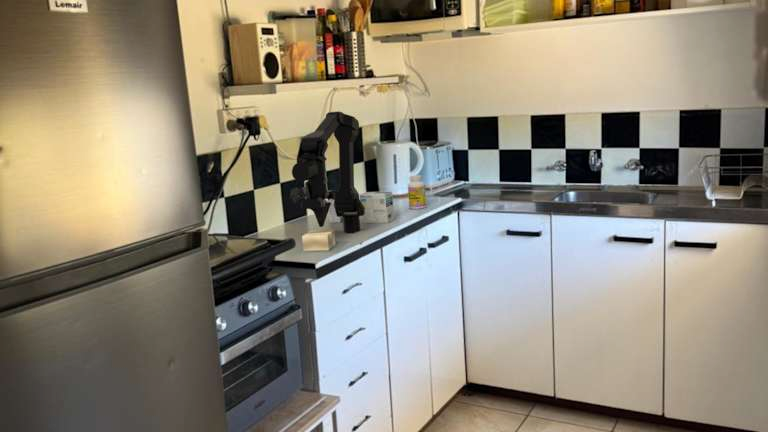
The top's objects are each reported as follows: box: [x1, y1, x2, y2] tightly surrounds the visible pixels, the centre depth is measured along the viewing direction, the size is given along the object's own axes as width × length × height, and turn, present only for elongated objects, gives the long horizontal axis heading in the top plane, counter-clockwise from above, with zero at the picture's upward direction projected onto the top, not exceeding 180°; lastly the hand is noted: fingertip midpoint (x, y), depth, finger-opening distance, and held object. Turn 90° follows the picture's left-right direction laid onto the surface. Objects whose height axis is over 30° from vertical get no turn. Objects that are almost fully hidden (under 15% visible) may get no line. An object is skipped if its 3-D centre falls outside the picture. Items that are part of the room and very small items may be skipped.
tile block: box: [301, 229, 336, 252], centre depth 221 cm, size 5×8×8 cm
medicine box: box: [327, 199, 343, 224], centre depth 271 cm, size 8×4×9 cm, turn 170°
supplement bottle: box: [407, 174, 427, 210], centre depth 285 cm, size 7×7×13 cm
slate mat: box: [292, 240, 350, 255], centre depth 223 cm, size 16×14×1 cm
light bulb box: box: [359, 190, 396, 224], centre depth 263 cm, size 11×7×11 cm, turn 66°
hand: (321, 226), depth 224 cm, fingers closed
